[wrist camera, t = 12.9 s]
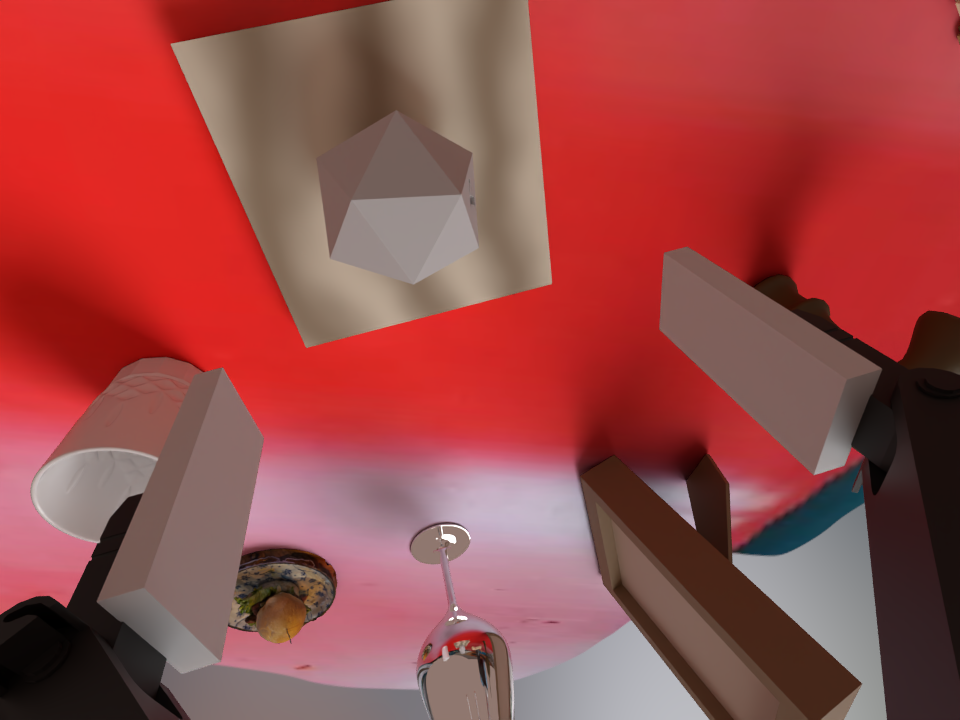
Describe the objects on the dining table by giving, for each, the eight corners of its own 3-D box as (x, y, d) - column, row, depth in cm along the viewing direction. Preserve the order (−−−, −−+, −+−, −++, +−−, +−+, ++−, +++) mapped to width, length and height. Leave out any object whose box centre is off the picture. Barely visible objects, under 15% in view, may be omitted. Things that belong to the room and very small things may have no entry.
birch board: (514, -23, 27) (525, -26, 26) (543, 272, 38) (552, 283, 36) (181, 43, 25) (170, 43, 24) (307, 333, 36) (306, 347, 34)
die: (418, 275, 34) (525, 274, 27) (298, 288, 28) (394, 292, 21) (406, 147, 32) (517, 111, 25) (274, 134, 26) (372, 83, 19)
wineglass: (389, 537, 50) (408, 745, 35) (463, 505, 50) (513, 701, 35) (419, 576, 55) (448, 774, 40) (487, 548, 55) (540, 736, 40)
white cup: (215, 345, 35) (176, 440, 27) (237, 430, 39) (209, 535, 31) (86, 352, 33) (2, 456, 25) (123, 440, 37) (63, 554, 29)
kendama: (820, 282, 45) (1093, 426, 28) (730, 352, 47) (936, 522, 31) (800, 238, 41) (1095, 372, 25) (704, 315, 44) (919, 483, 27)
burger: (186, 573, 47) (163, 654, 41) (306, 530, 47) (300, 603, 41) (251, 630, 54) (240, 707, 48) (355, 592, 54) (356, 663, 48)
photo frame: (599, 577, 64) (720, 832, 43) (576, 469, 51) (730, 758, 31) (706, 536, 64) (874, 769, 44) (708, 419, 52) (947, 672, 31)
